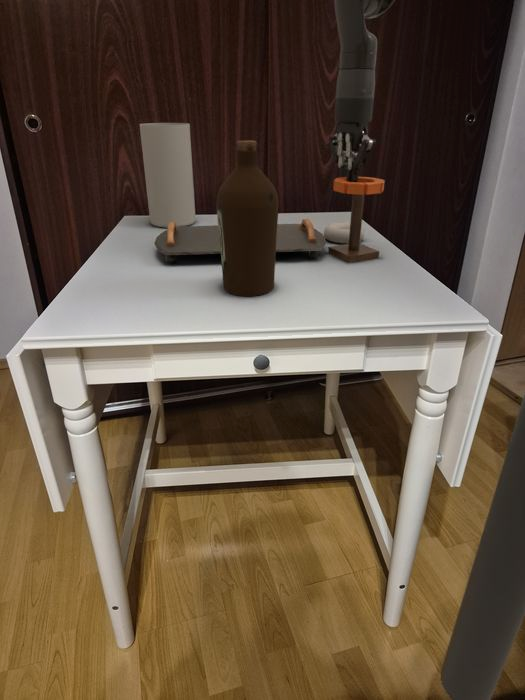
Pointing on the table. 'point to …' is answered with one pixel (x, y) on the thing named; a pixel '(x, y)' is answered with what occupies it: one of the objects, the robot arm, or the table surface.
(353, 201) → the stand
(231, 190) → the olive oil
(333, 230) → the donut
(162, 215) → the cylinder vase
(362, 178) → the ring
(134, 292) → the table surface
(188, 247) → the serving tray
